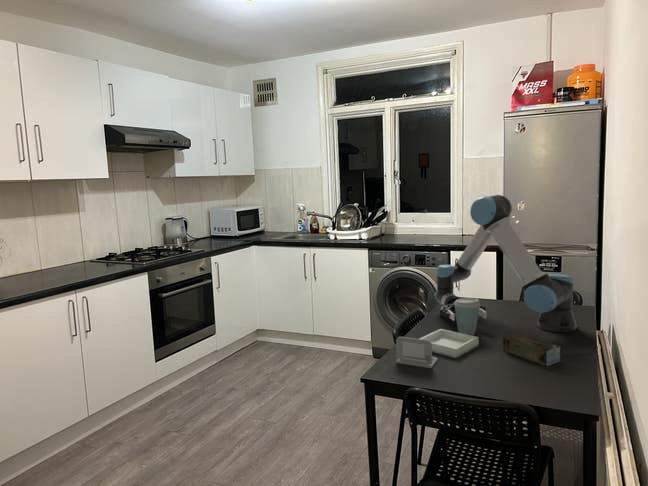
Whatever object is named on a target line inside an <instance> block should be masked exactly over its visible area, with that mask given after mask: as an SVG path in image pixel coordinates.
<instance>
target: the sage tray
mask: <svg viewBox="0 0 648 486" xmlns="http://www.w3.org/2000/svg"><path fill="white" fill-rule="evenodd" d="M419 339H423V340H429V341H430V342H431V343H432V353H434V354H437V355H438V354H439V355H442V356H445V357H449V358H453V359H457V358H459V357H461V356H463V355H464V353H465V354H467V353H468V352H470V351H472V350H473V349H475V348H477V347H479V339H480V338H479V336H475V335H473V336H471V335H467V334H462V333H459V332H457V331H453V330H448V329H443V328H439V329H436V330H435V331H433V332H431V333H428V334H427V335H426V334H425V335H424V336H422V337H420V338H419Z"/></svg>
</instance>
